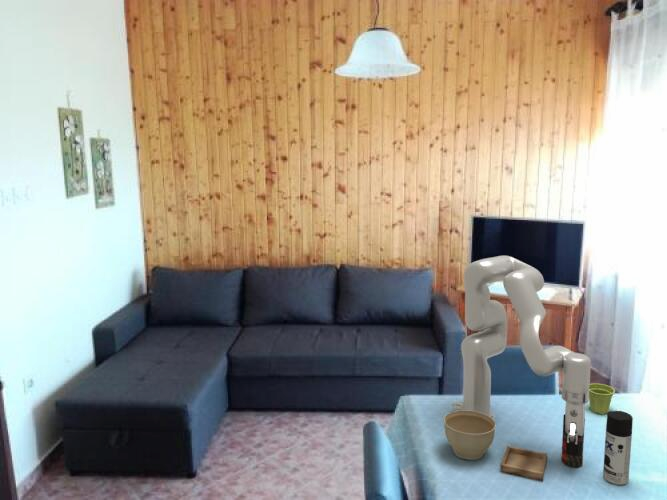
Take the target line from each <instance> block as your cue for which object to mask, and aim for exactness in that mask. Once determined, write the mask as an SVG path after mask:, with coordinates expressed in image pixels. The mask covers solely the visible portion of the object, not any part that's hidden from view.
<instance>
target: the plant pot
mask: <svg viewBox="0 0 667 500" xmlns="http://www.w3.org/2000/svg"><path fill="white" fill-rule="evenodd" d="M615 393H616V389H614V388H613V387H612V386H609V385H608V384H604V383H590V386H589V402H588V403H589V410H590V411H591V412H592V413H595V414H597V413H598V414H599V415H605V414H606V415H607V413H608V412H610V407H611V403H612V397H614V394H615Z"/></svg>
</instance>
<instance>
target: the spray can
mask: <svg viewBox="0 0 667 500" xmlns="http://www.w3.org/2000/svg"><path fill="white" fill-rule="evenodd" d="M606 415H607V416H606V424H605V437H604V438H605V439H604V440H605V441H604V455H603V470H602V476H603V478H604V480H605V481H606V482H608V483H610V484H612V485H616V486H625V485H627V484H628V482H629V478H630V466H631V465H630V464H631V451H632V450H631V449H632V441H633V440H632V438H633V421H634V418H633V416H632V414H630V413H628V412H625V411H622V410H611V411H608V413H607V414H606Z"/></svg>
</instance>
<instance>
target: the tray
mask: <svg viewBox="0 0 667 500" xmlns="http://www.w3.org/2000/svg"><path fill="white" fill-rule="evenodd" d="M547 462H548V453H544V452H541V451H536V450H531V449H530V450H529V449H526V448H521V447H516V446H512V445H506V448H505V451H504V454H503V457H502V460H501V462H500V473H503V472H504V473H503V474H507V473H508V475H512V474H513V475H512V476H517V477H522V478H526V479H530V480H534V481H538V482H544V477H545V473H546V467H547Z"/></svg>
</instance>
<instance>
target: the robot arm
mask: <svg viewBox="0 0 667 500" xmlns="http://www.w3.org/2000/svg"><path fill="white" fill-rule="evenodd" d="M501 281H502V284H503V288H504V291H505V292H506V294H507V296H508V297H507V298H508V299H509V301H510V303H511V306H512V307H513V309H514V311H515V313H516V315H517V317H518V319H519V323H520V327H519V343H520V348H521V352H522V354H523V356H524V358H525V360H526V362H527V365H528V366H529V367H530V369H531V370H532V371H533V372H534V373H535V374H536V375H537V376H540V377H549V376H551V375H553V374H556V373H559V372H562V377H561V378H562V383H561V399H562V400H563V401H564V402H565V410H564V411H565V413H564V414H565V429H566V433H567V434H568V438H567V442H566V454H567V455H572V456H578V443H577V440H578V435H580V436H583V432H584V433H585V426H584V418H585V415H586V412H585V411H586V405H587V404H588V403H589V386H590V384H591V383H590V382H591V365H592V361H591V359H590V357H589V356H588V355H586V354H584V353H583V354H582V353H578V352H574V351H573V350H570V349H568V348H567V347H564V346H562V345H554V346H550V347H548V348H545V349H544V347H543V345H542V343H541V340H540V336H539V334H540V332H539V331H540V326H541V325H542V322H543V320H544V319H545V317H546V315H547V311H546V309H545V306H544V305H543V303H542V301H541V299H540V297H539V294H538V292H539V291H541V290H542V289H543V287H544V286H545V280H544V276H543V274H542V273H541V272H540V271H539V270H538V269H537V268H535V267H533V266H532V265H529V264H527V263H525V262H523V261H521V260H519V259H517V258H514V257H513V256H511V255H510V256H509V255H498V256H493V257H487V258H481V259H479V260H476V261H473V262H471V263H470V264H469V265H467V266H466V268H465V270H464V273H463V283H464V284H463V285H464V290H465V291H464V293H465V296H464V297H465V298H464V299H465V300H464V301H465V302H464V304H465V307H464V308H465V311H464V312H465V314H464V317H465V318H464V319H465V324H466V327H467V328H468V329H469V330H471V331H472V332H475V333H472V334H469V335H468V336H466V337H465V338H464V339H463V340H462V342H461V344H460V349H461V355H462V362H463V387H462V388H463V392H462V393H463V396H462V397H463V399H462V400H463V401H460V402H457V401H454V400H453V401H452V402H451V407H453V410H455V411H459V410H469V411H476V412H480V413H483V414H486V415H488V416H489V417H491V418H492V419H493V420H494V421H495V414H494V412H493V411H491V391H492V386H491V385H492V381H491V380H492V371H491V370H492V369H491V367H490V365H489V363H488V359H490V358H492V357H494V356H497V355H500V354H502V353H503V352H504V351H505V349H506V347H507V344H508V343H507V341H508V317H507V315H508V314H507V311H506V309H505V306H504V305H503V304H502V303H501V302H500V301H498V300H495V299H491V291H490V288H489V286H488V284H492V283H496V282H501ZM575 424H576V427H575ZM569 430H570V432H569ZM575 431H576V432H577V433H575ZM575 436H576V438H575Z"/></svg>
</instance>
